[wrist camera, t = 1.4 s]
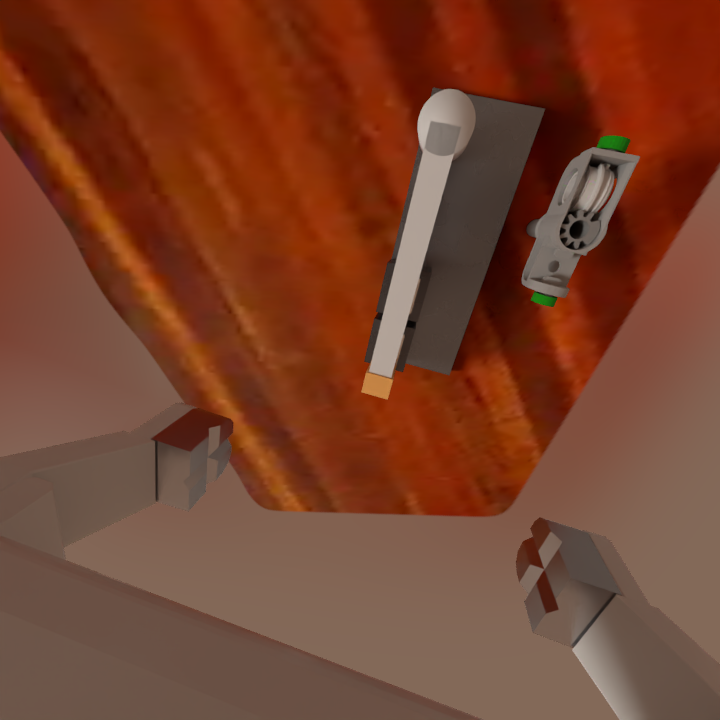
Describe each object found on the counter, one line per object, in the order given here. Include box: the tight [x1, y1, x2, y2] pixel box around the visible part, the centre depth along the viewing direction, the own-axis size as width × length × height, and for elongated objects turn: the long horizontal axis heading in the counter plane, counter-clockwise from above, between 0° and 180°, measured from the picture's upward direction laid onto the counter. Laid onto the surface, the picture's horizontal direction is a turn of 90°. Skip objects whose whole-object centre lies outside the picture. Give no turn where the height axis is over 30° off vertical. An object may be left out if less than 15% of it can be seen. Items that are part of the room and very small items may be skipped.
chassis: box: [392, 88, 545, 375], centre depth 30 cm, size 24×9×6 cm, turn 168°
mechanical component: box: [522, 136, 640, 307], centre depth 26 cm, size 3×10×10 cm, turn 168°
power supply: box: [376, 259, 432, 322], centre depth 31 cm, size 5×4×4 cm
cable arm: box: [362, 89, 476, 400], centre depth 26 cm, size 22×4×3 cm, turn 168°
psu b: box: [364, 312, 416, 372], centre depth 34 cm, size 5×4×4 cm
